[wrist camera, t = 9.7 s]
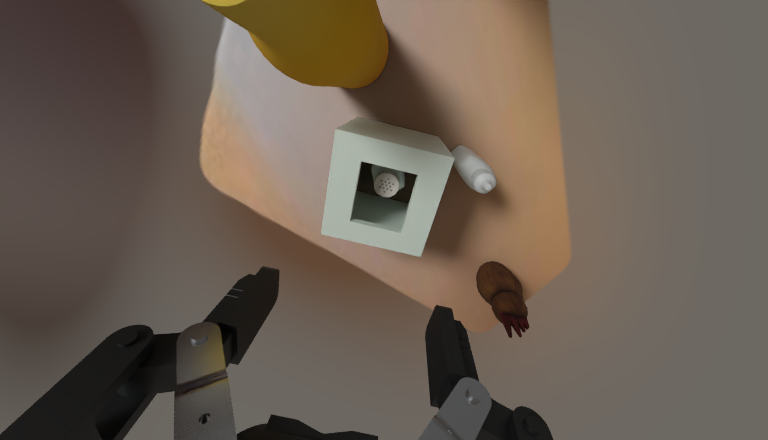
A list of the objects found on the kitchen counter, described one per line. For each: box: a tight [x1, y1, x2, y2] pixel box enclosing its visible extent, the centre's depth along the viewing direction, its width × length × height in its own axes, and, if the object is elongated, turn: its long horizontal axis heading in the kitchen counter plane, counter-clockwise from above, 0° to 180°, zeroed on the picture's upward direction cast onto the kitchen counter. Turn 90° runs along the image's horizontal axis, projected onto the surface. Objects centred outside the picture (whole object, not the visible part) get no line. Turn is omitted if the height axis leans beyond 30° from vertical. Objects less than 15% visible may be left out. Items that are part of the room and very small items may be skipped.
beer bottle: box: [201, 0, 389, 88], centre depth 22 cm, size 9×9×29 cm
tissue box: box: [321, 117, 455, 257], centre depth 35 cm, size 12×12×14 cm
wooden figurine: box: [476, 261, 529, 338], centre depth 42 cm, size 7×6×15 cm
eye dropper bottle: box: [451, 145, 497, 194], centre depth 35 cm, size 4×6×12 cm
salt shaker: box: [371, 164, 405, 197], centre depth 37 cm, size 4×4×10 cm
